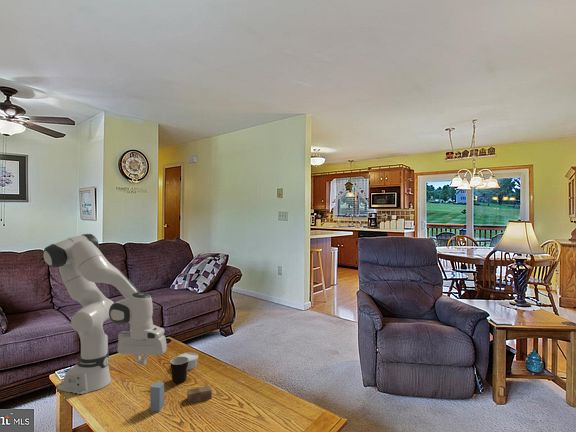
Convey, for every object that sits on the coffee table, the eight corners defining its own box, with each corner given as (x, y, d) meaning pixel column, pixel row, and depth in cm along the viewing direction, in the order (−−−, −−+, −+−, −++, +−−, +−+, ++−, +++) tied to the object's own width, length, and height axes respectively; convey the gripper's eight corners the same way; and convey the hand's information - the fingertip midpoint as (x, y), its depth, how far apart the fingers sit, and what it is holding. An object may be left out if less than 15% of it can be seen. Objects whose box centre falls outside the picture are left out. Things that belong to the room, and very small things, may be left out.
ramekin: (201, 362, 178) (201, 353, 178) (192, 372, 167) (192, 362, 167) (182, 360, 180) (182, 351, 180) (172, 370, 169) (172, 360, 169)
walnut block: (188, 394, 140) (211, 389, 144) (187, 389, 144) (210, 385, 148) (188, 403, 141) (211, 398, 144) (187, 398, 144) (210, 394, 148)
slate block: (150, 410, 135) (150, 387, 135) (155, 405, 139) (155, 382, 139) (159, 411, 134) (159, 387, 134) (164, 405, 138) (164, 382, 138)
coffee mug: (182, 386, 154) (182, 365, 154) (166, 384, 156) (166, 363, 156) (194, 374, 165) (194, 354, 165) (179, 372, 167) (179, 353, 167)
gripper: (113, 333, 134) (114, 366, 135) (161, 334, 133) (161, 368, 133) (122, 328, 141) (123, 359, 141) (168, 329, 139) (168, 361, 139)
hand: (142, 363), depth 137 cm, fingers closed
